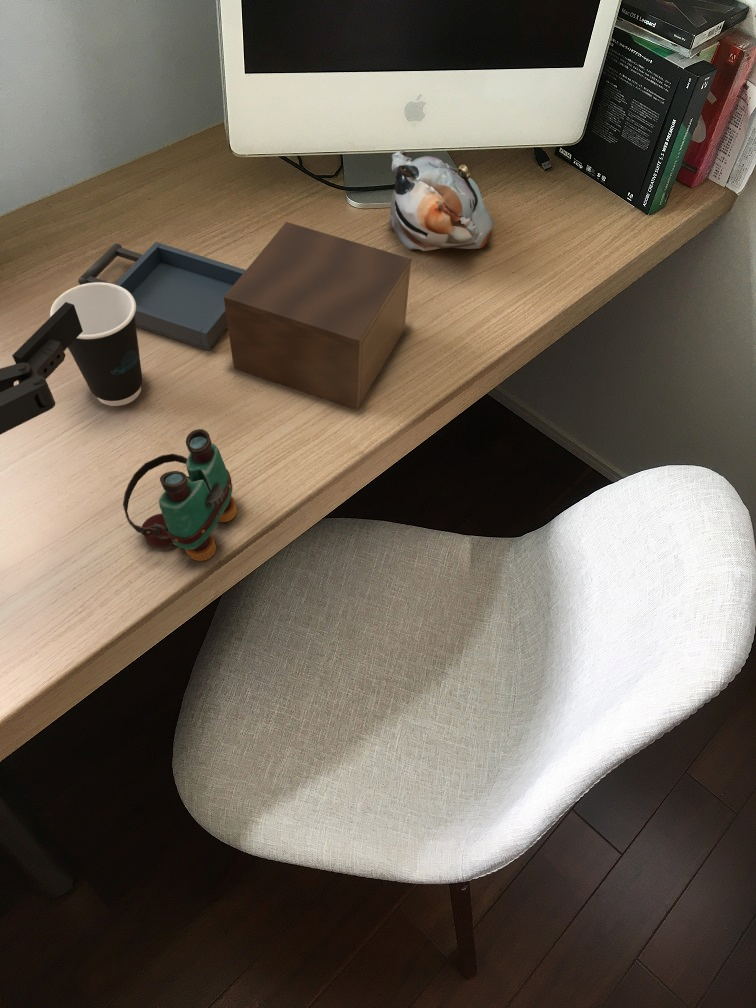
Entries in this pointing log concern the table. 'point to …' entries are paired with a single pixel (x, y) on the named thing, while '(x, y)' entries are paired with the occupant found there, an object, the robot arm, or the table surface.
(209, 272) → the drawer
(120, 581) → the table surface
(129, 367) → the dixie cup
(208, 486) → the binoculars
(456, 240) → the lucky cat figurine
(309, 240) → the drawer unit
